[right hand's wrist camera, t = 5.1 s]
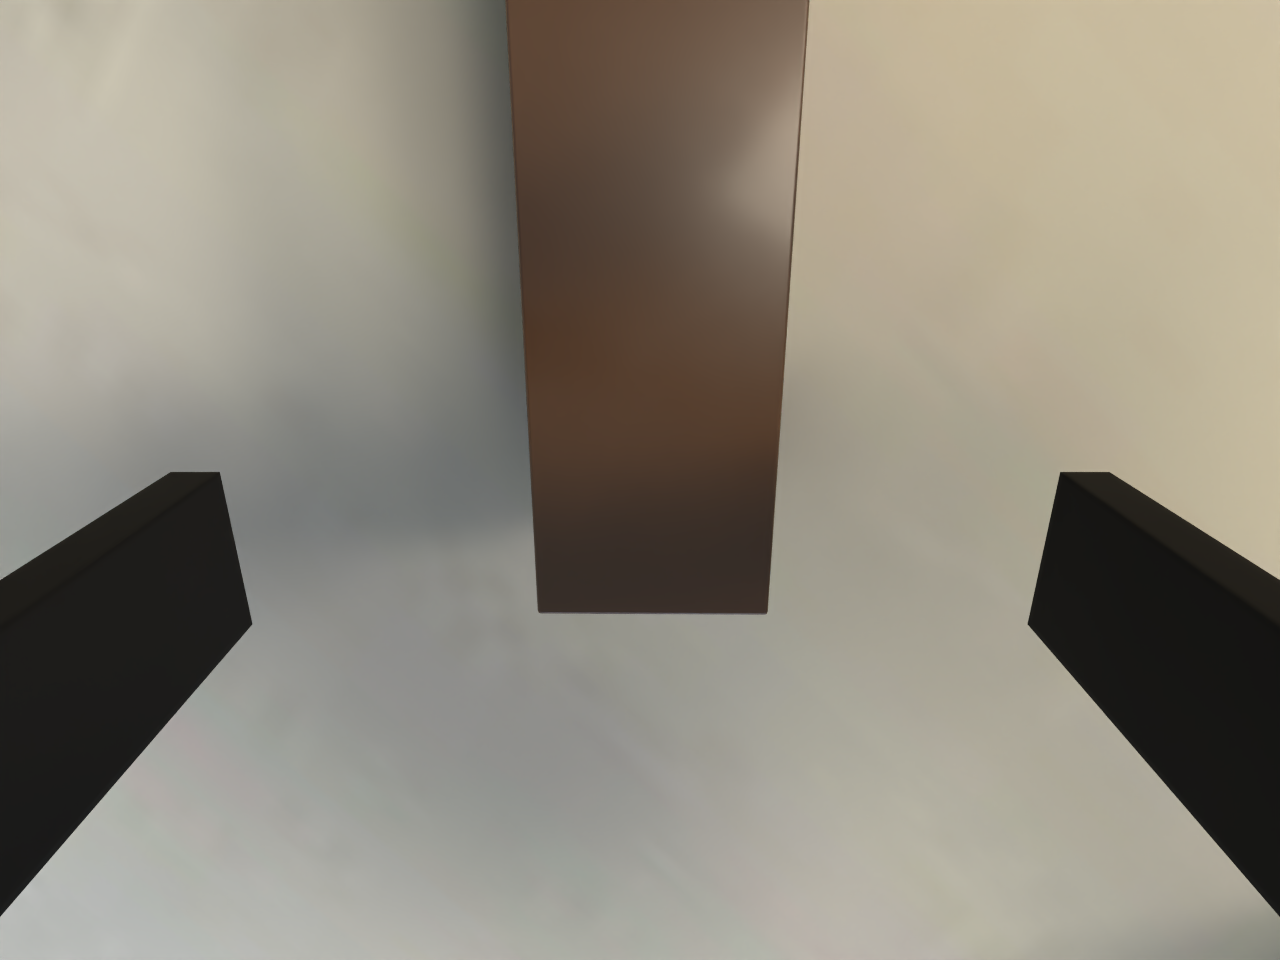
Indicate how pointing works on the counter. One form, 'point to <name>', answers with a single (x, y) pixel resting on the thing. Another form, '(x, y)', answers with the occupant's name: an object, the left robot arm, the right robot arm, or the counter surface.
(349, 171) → the counter surface
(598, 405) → the walnut beam
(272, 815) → the counter surface
